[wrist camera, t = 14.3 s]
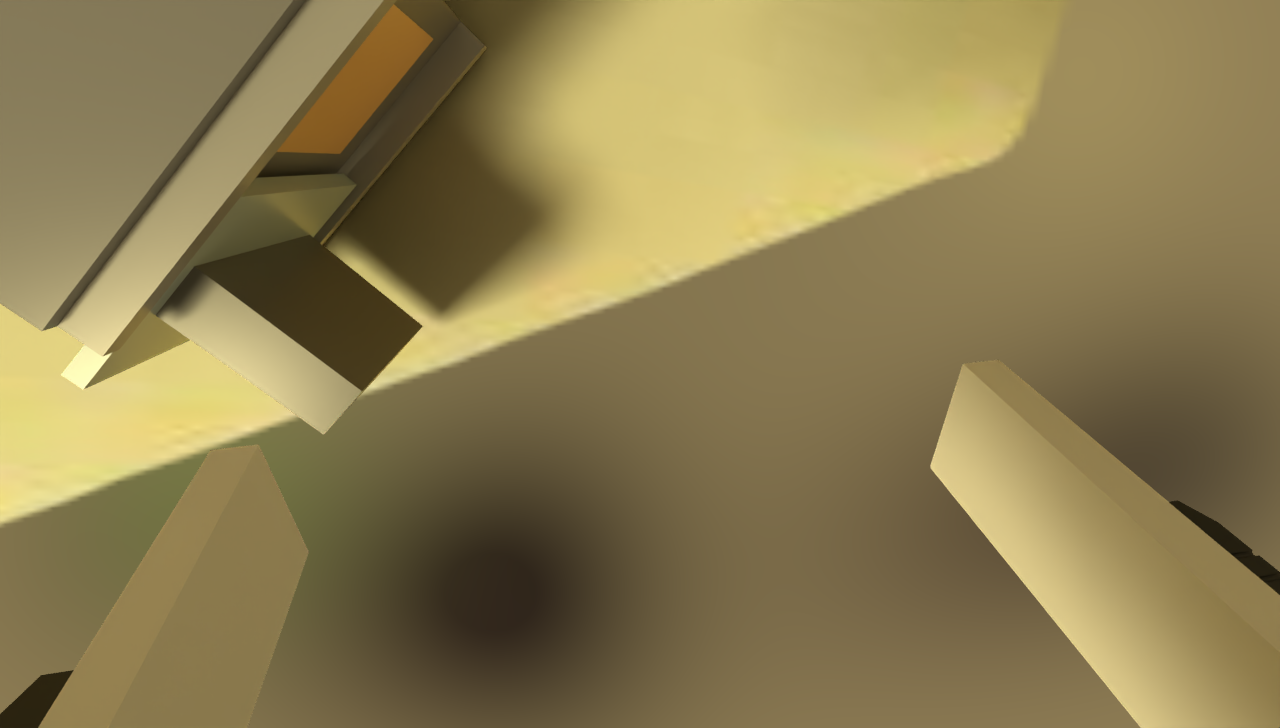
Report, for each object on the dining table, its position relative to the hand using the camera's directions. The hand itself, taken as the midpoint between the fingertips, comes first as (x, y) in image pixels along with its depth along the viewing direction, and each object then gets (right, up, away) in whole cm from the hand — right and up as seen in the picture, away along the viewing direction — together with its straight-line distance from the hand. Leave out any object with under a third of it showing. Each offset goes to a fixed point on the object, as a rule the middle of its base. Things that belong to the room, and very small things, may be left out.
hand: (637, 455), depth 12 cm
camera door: (-15, +6, +21) cm, 27 cm away
